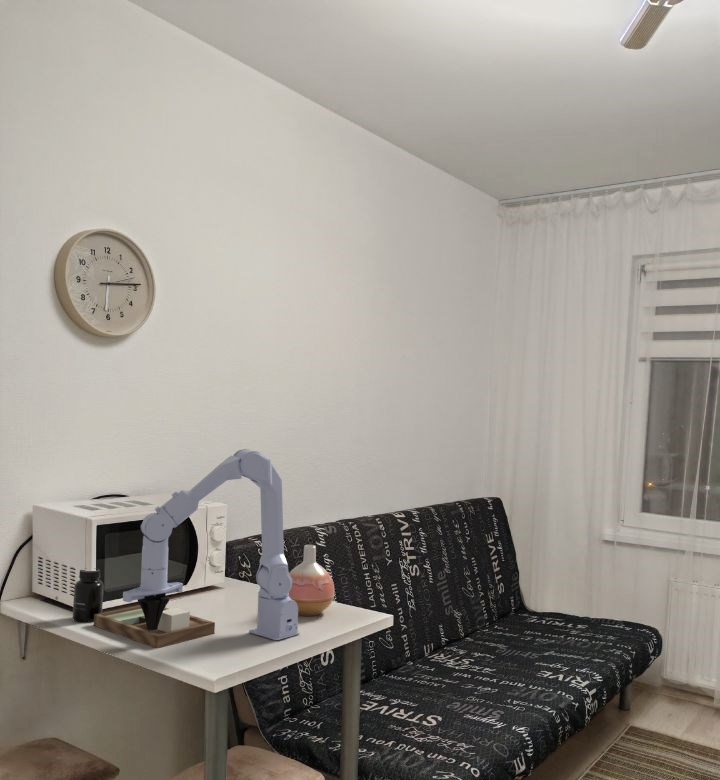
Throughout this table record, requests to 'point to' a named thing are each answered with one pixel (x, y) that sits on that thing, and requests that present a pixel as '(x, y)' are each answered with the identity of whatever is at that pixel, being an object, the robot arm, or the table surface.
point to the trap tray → (135, 628)
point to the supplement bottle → (87, 596)
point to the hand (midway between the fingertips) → (152, 629)
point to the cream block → (174, 620)
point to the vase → (311, 585)
